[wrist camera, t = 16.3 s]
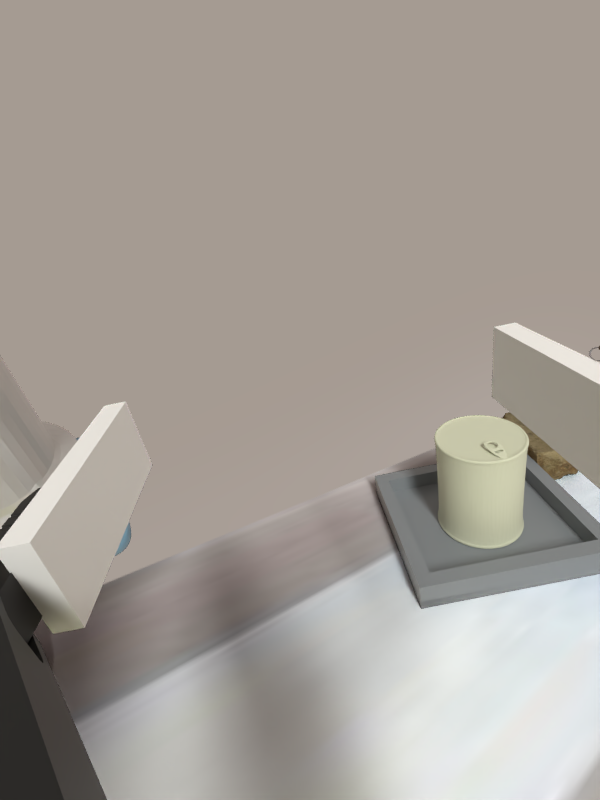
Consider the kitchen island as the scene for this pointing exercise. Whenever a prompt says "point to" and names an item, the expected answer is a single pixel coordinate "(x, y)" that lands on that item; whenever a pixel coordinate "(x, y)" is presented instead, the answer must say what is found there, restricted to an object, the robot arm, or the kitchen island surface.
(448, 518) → the can
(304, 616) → the kitchen island surface
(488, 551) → the tray
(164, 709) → the kitchen island surface
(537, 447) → the stone block
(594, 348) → the coffee pot
